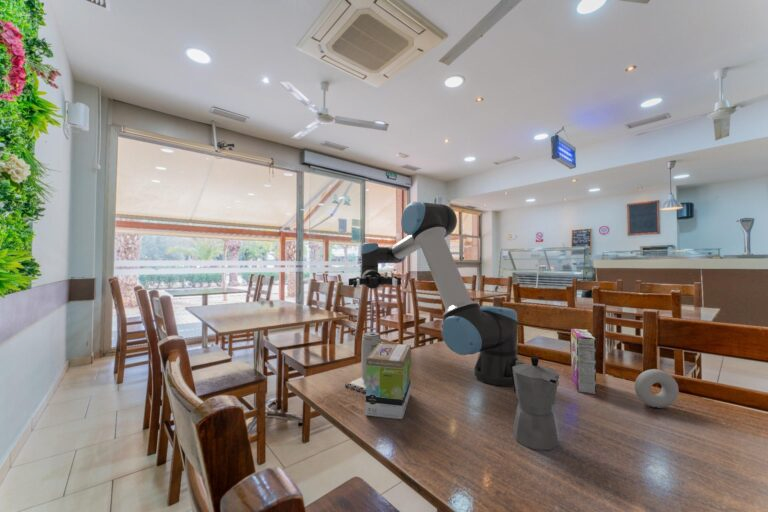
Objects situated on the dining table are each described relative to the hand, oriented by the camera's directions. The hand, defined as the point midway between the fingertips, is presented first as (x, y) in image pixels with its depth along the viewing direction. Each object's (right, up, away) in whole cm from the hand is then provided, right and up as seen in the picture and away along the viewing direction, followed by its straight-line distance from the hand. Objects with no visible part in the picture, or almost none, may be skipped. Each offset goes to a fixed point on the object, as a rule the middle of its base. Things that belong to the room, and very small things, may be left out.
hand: (377, 283), depth 116 cm
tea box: (+4, -31, -28) cm, 42 cm away
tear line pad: (-2, -30, -15) cm, 34 cm away
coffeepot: (+35, -30, -44) cm, 64 cm away
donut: (+74, -30, -31) cm, 86 cm away
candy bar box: (+63, -30, -17) cm, 72 cm away
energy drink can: (-2, -30, -14) cm, 33 cm away
